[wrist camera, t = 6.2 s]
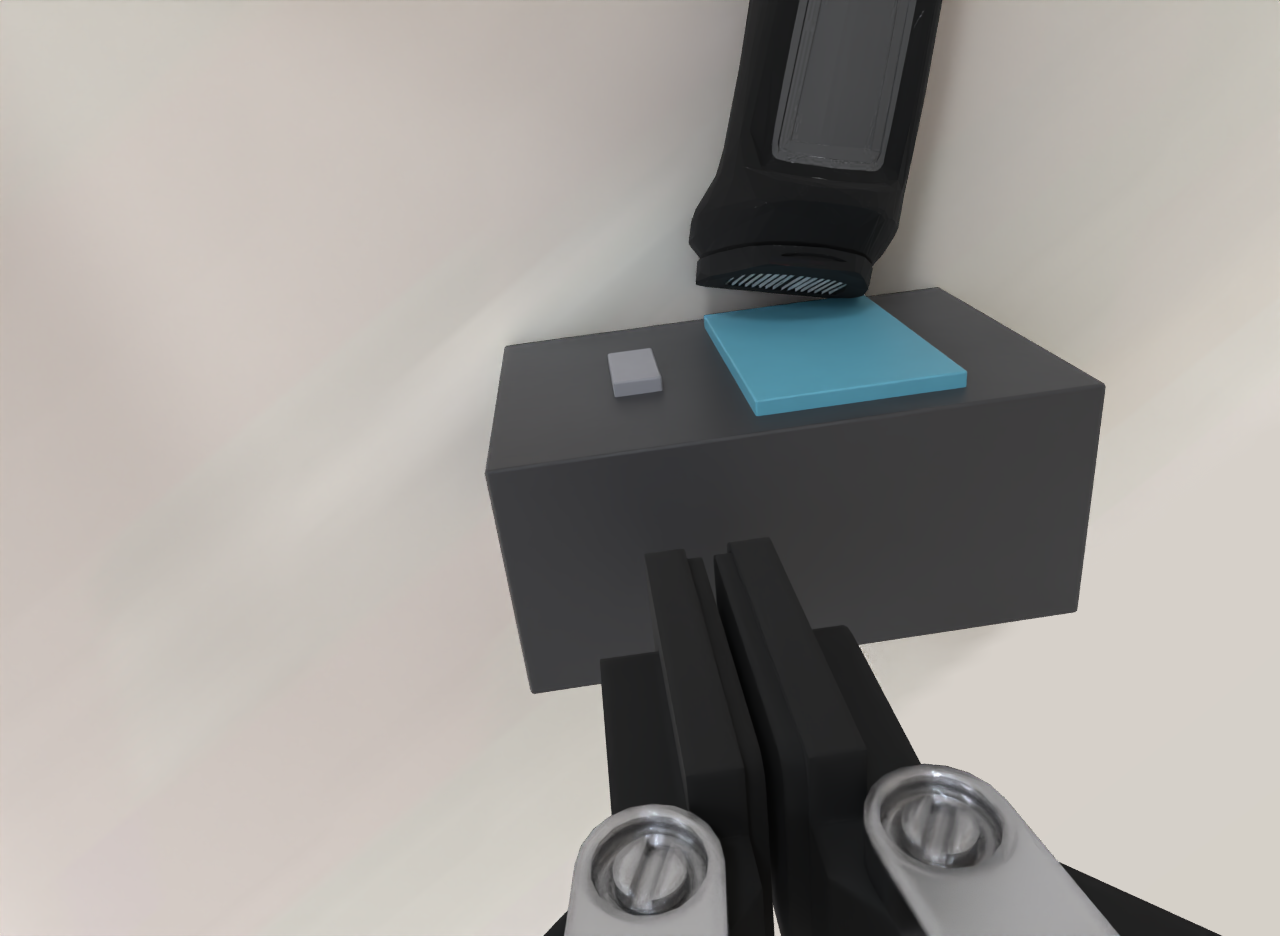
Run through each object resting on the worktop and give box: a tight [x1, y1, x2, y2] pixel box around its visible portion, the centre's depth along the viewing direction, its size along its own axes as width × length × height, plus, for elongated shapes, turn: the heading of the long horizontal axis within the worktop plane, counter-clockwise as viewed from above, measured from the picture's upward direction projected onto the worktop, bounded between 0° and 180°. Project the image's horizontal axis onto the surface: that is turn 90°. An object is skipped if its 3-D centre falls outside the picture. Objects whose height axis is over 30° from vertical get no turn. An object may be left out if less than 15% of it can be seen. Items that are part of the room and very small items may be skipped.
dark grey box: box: [485, 287, 1105, 694], centre depth 16 cm, size 4×6×9 cm
